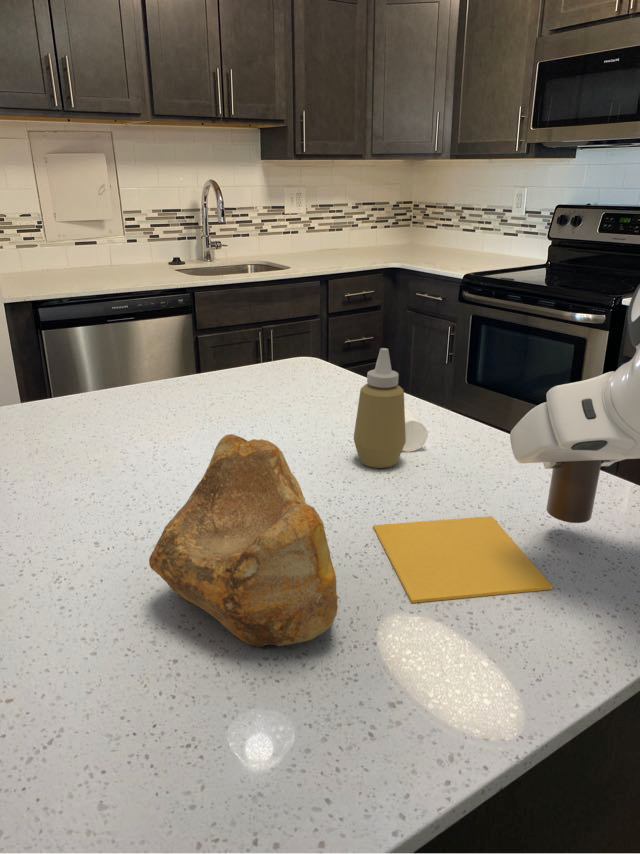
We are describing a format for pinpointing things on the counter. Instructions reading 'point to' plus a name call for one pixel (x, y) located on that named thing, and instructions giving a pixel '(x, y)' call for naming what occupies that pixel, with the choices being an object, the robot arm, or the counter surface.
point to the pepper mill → (573, 490)
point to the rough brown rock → (251, 548)
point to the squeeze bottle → (380, 416)
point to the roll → (414, 431)
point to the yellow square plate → (457, 559)
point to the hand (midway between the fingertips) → (574, 461)
